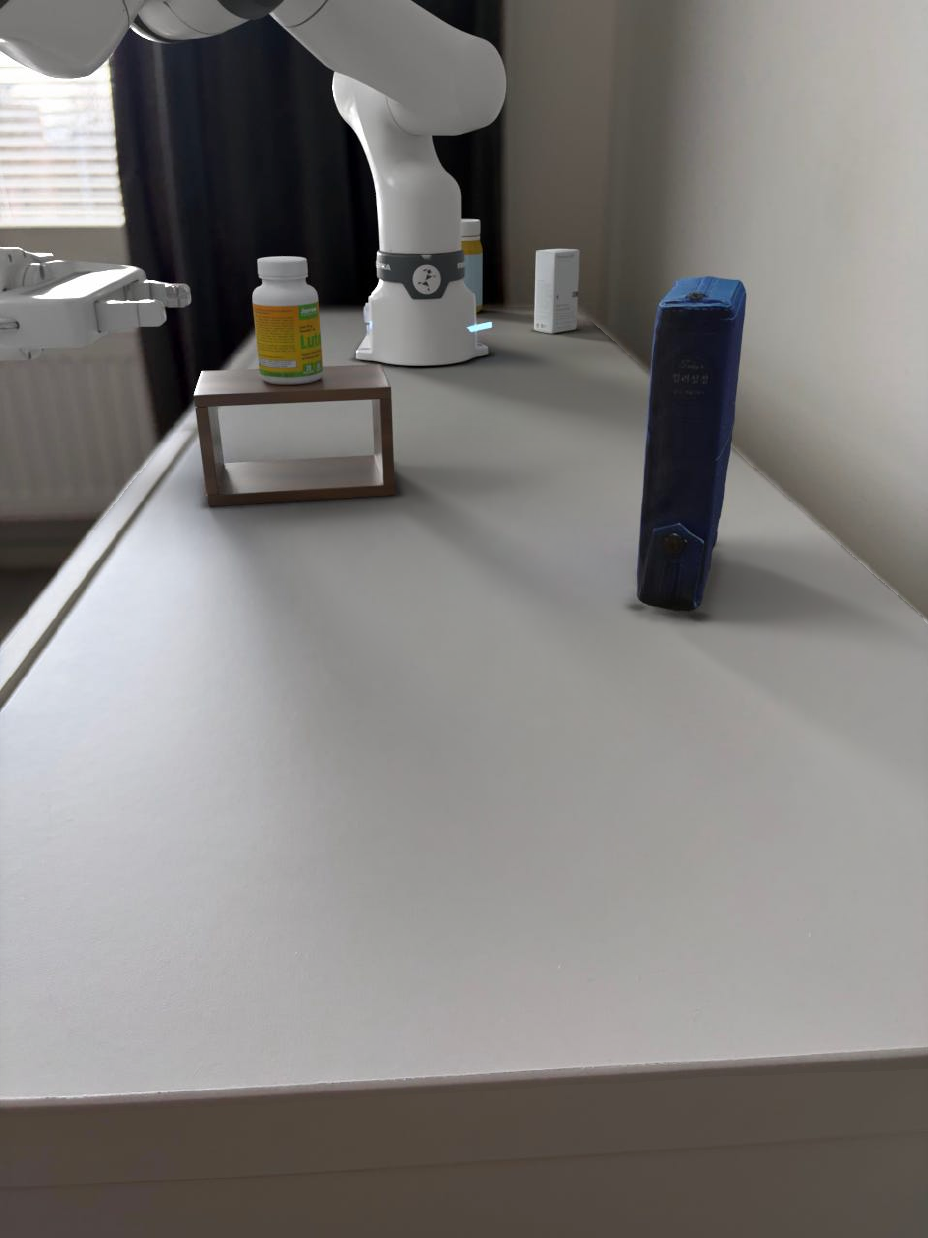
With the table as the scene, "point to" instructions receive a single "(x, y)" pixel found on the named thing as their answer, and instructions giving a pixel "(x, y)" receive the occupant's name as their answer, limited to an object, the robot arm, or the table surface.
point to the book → (688, 437)
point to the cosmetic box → (556, 290)
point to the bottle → (472, 258)
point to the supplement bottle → (287, 322)
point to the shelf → (297, 474)
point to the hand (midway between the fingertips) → (177, 303)
